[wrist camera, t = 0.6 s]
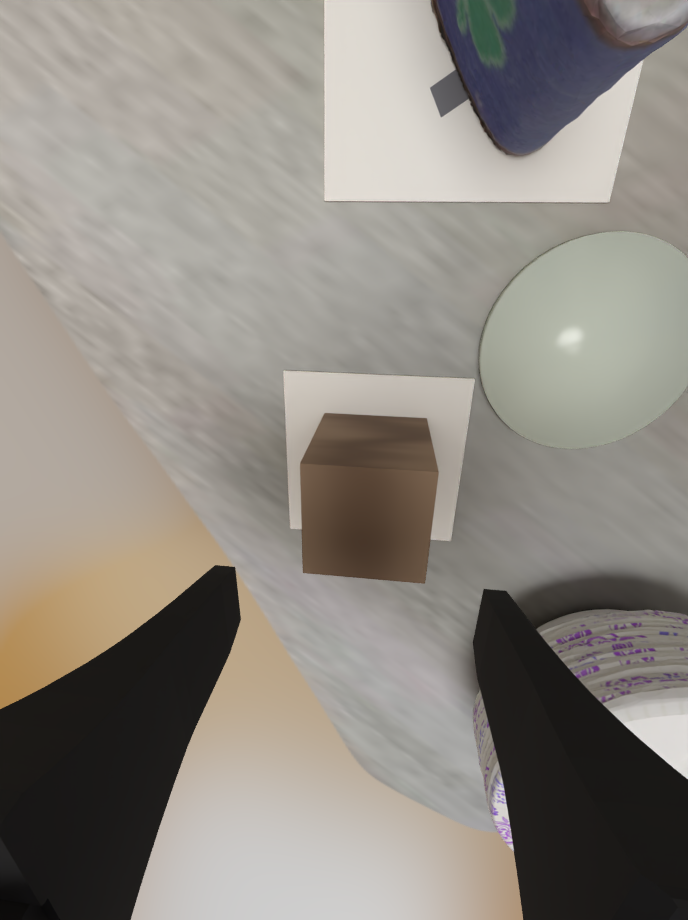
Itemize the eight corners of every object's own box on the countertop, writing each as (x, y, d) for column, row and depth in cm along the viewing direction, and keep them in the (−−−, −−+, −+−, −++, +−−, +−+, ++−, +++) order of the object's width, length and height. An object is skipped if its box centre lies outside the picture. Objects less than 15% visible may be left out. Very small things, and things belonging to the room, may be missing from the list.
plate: (737, 233, 16) (749, 232, 16) (659, 449, 20) (667, 454, 19) (496, 231, 17) (500, 229, 16) (465, 438, 21) (467, 443, 20)
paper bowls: (794, 651, 24) (969, 817, 17) (592, 773, 30) (655, 932, 23) (587, 519, 22) (682, 641, 15) (415, 678, 28) (423, 820, 21)
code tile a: (719, -262, 12) (722, -267, 11) (607, 202, 16) (609, 202, 16) (324, -227, 13) (324, -231, 12) (324, 201, 17) (324, 200, 17)
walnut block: (426, 418, 20) (438, 472, 15) (417, 507, 22) (424, 583, 17) (324, 412, 21) (299, 463, 15) (324, 500, 23) (302, 572, 17)
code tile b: (474, 378, 19) (475, 379, 19) (450, 540, 23) (450, 541, 23) (284, 370, 20) (283, 370, 20) (290, 527, 24) (290, 528, 24)
